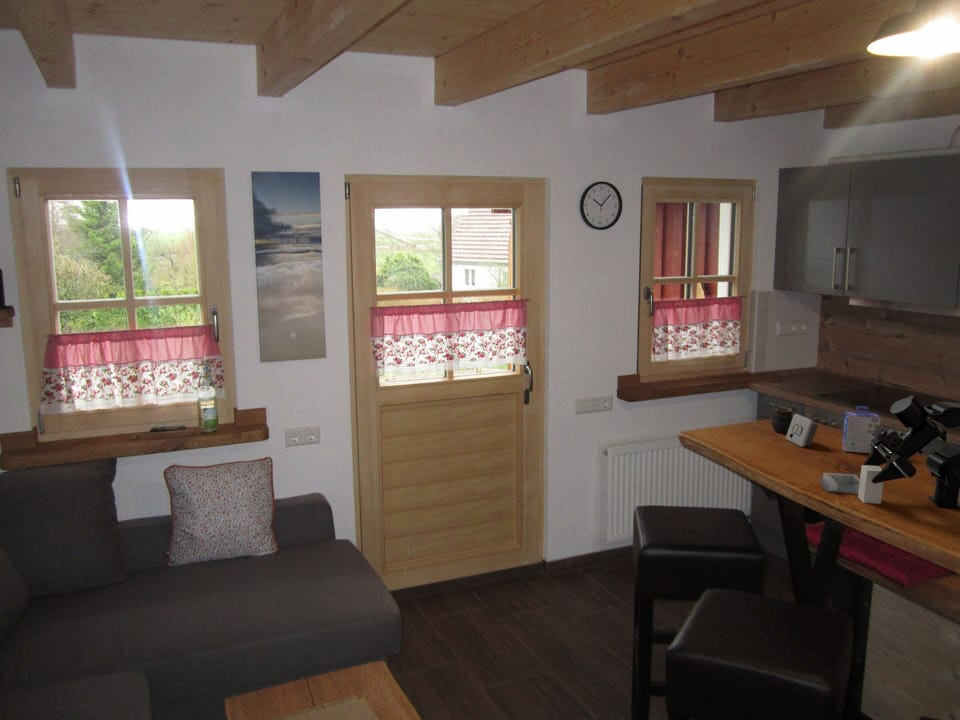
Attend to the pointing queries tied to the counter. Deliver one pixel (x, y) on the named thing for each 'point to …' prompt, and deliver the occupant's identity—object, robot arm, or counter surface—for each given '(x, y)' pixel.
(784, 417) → the mate gourd
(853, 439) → the ink cartridge box
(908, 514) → the counter surface
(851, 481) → the rail cradle
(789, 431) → the electrical switch
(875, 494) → the block
